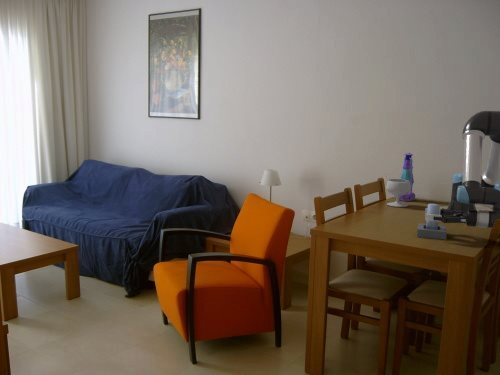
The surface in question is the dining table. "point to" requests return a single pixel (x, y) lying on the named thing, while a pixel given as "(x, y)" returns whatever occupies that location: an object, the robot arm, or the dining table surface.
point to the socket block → (431, 232)
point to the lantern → (408, 177)
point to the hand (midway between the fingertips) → (425, 213)
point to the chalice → (398, 190)
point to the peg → (435, 211)
